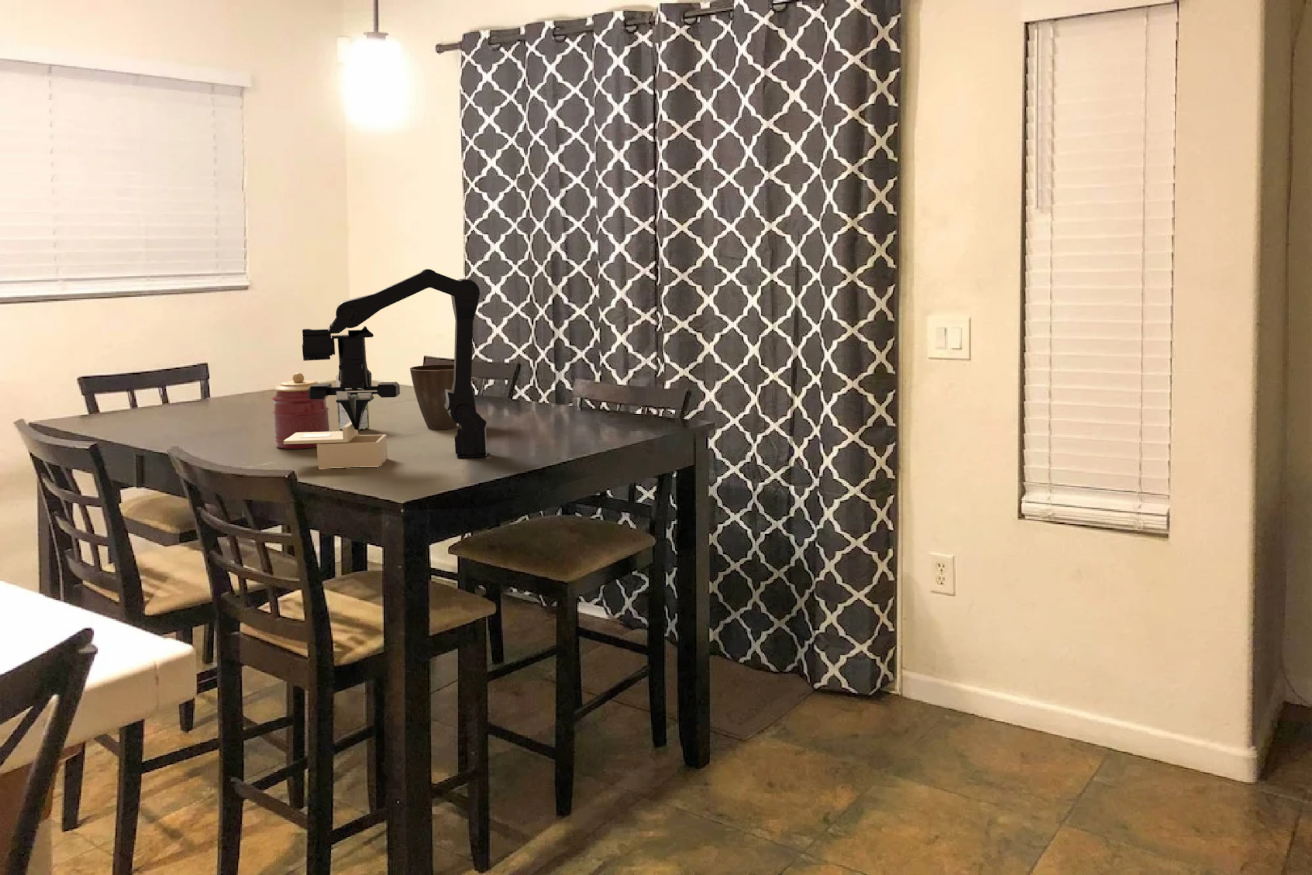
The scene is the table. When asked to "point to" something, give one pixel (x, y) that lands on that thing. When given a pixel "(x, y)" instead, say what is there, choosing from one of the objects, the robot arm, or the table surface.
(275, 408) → the canister
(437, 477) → the table surface
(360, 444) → the base
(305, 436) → the cream angled plate
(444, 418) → the plant pot
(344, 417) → the syrup box
